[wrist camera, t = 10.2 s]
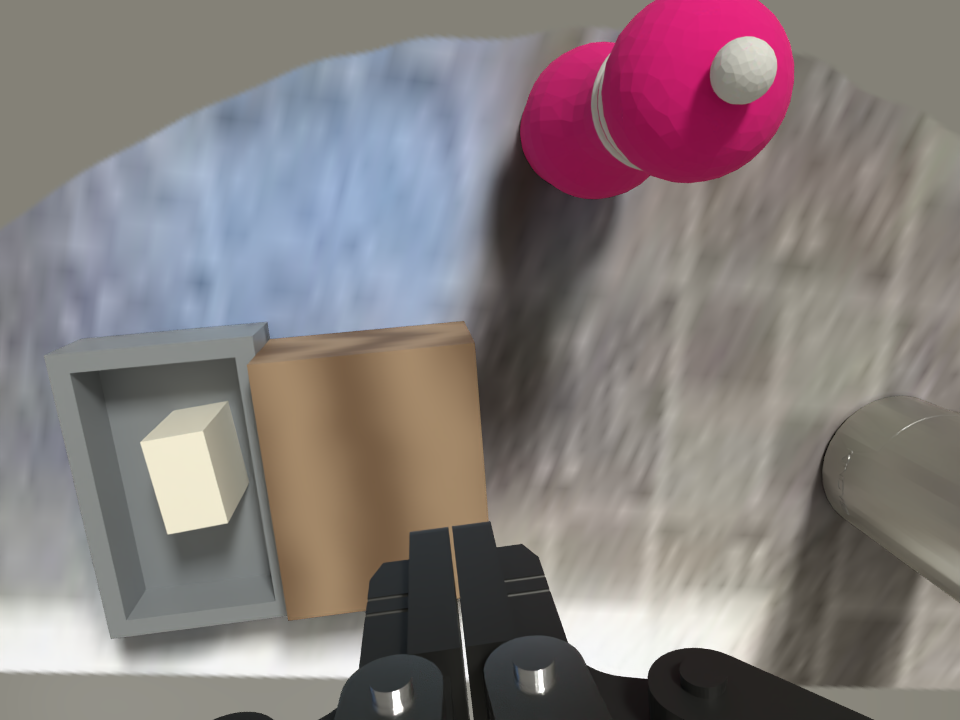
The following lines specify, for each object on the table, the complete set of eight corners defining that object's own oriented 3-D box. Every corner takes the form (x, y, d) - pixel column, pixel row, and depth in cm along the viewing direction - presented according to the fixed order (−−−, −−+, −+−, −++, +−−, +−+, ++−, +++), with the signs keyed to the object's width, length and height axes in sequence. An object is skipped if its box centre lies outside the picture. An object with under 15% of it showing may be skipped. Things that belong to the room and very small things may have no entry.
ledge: (463, 321, 39) (474, 342, 34) (481, 539, 43) (494, 593, 37) (269, 339, 38) (246, 365, 33) (303, 561, 42) (288, 620, 36)
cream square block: (202, 430, 33) (140, 442, 33) (227, 523, 34) (167, 534, 34) (228, 400, 38) (173, 410, 38) (249, 482, 39) (196, 492, 39)
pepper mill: (612, 215, 39) (819, 236, 20) (493, 174, 38) (589, 153, 18) (657, 88, 38) (928, -23, 18) (536, 41, 36) (689, -133, 17)
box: (267, 321, 38) (252, 336, 34) (306, 576, 42) (296, 614, 38) (80, 338, 37) (43, 355, 33) (138, 597, 41) (110, 638, 37)
